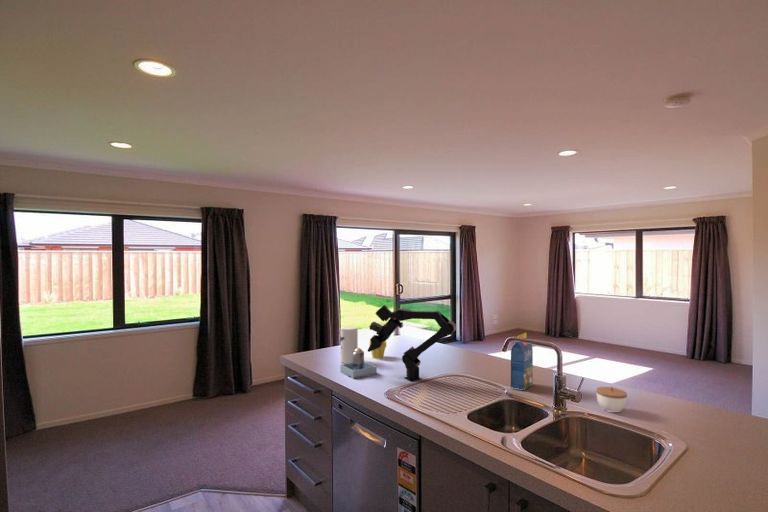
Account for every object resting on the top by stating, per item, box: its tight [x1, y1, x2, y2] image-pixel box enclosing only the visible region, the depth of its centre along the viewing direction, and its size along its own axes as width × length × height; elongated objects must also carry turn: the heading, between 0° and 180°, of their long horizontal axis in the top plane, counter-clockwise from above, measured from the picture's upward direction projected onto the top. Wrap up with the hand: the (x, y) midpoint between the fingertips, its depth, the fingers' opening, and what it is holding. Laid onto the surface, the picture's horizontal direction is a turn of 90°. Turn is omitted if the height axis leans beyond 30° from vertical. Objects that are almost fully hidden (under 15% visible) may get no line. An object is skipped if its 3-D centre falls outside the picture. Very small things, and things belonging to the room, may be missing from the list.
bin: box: [339, 360, 378, 379], centre depth 208 cm, size 14×14×4 cm
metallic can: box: [353, 347, 365, 370], centre depth 207 cm, size 6×6×12 cm
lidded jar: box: [595, 386, 628, 412], centre depth 158 cm, size 11×11×9 cm
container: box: [340, 325, 359, 364], centre depth 231 cm, size 10×10×20 cm
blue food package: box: [510, 332, 534, 391], centre depth 186 cm, size 6×12×25 cm, turn 140°
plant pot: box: [369, 340, 387, 359], centre depth 239 cm, size 10×10×10 cm
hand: (370, 348), depth 206 cm, fingers open, 9 cm apart
